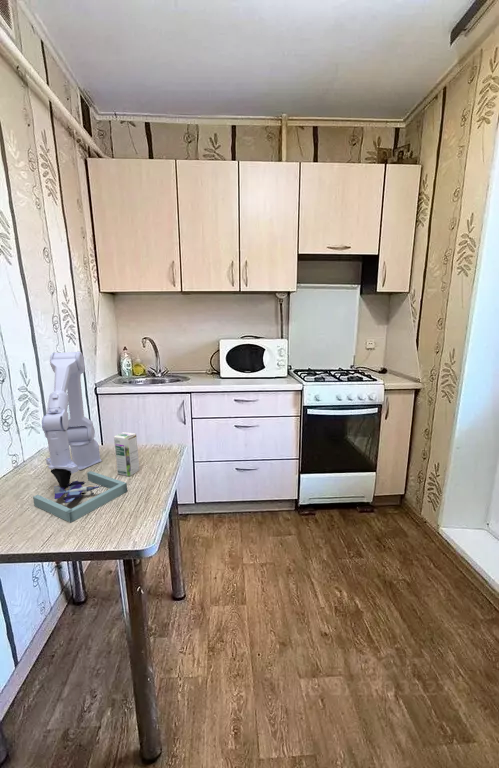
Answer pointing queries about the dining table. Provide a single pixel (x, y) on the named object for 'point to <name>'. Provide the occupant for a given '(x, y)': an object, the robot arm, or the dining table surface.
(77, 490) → the toy airplane
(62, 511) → the bay
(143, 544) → the dining table surface
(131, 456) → the syrup box
